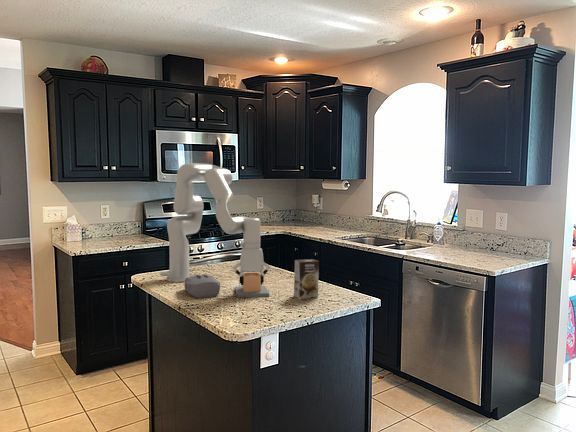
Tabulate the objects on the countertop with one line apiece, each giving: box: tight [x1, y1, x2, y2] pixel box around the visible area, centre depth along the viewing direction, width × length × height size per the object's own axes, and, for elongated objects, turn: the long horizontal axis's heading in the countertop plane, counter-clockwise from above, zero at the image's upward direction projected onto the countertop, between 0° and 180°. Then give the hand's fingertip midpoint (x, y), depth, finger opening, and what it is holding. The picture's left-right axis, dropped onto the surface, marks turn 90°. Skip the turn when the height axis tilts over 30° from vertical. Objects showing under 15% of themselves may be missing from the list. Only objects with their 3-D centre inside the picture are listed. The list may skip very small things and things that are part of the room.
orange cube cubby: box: [242, 272, 262, 292], centre depth 212 cm, size 7×7×7 cm
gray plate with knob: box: [234, 285, 270, 298], centre depth 212 cm, size 14×14×8 cm
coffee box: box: [293, 258, 320, 300], centre depth 207 cm, size 9×6×16 cm
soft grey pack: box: [183, 273, 221, 299], centre depth 212 cm, size 15×8×20 cm
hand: (251, 284), depth 212 cm, fingers open, 8 cm apart
